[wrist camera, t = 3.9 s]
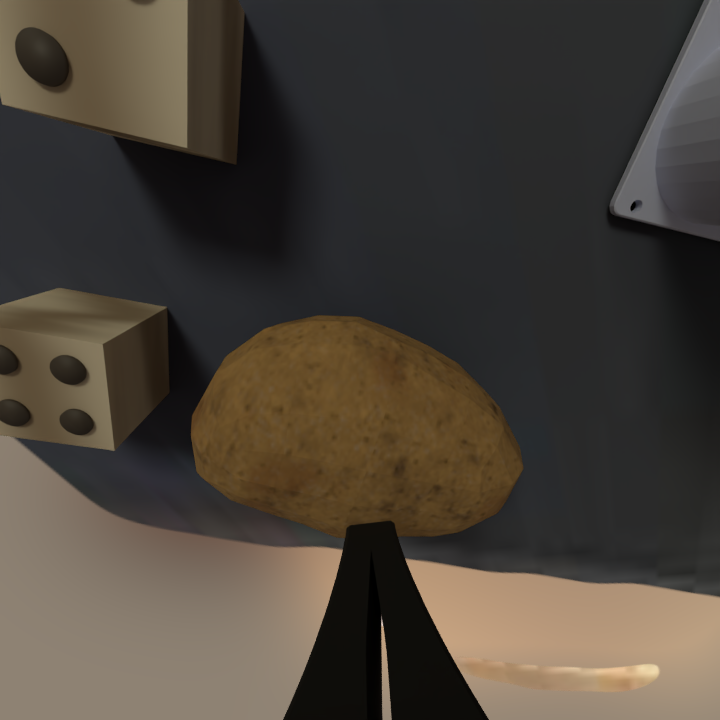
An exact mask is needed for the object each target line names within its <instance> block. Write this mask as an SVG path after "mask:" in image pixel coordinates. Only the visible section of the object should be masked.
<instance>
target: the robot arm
mask: <svg viewBox="0 0 720 720" xmlns="http://www.w3.org/2000/svg"><path fill="white" fill-rule="evenodd" d="M634 201H635V203H636V206H635V208H634V210H633V211H631V210H630V207H631V204H632V203H633V202H634ZM609 208H610V212H611V213H612V214H613V215H615V216H619V217H623V218H627V219H631V220H635V221H639V222H643V223H647V224H651V225H655V226H659V227H663V228H667V229H671V230H675V231H679V232H683V233H687V234H691V235H695V236H699V237H704V238H708V239H712V240H716V241H720V0H704V2H703V4H702V6H701V8H700V10H699V12H698V15H697V17H696V19H695V21H694V23H693V25H692V28H691V30H690V32H689V34H688V36H687V38H686V40H685V43H684V45H683V47H682V49H681V51H680V53H679V56H678V58H677V60H676V62H675V64H674V66H673V68H672V71H671V73H670V75H669V77H668V79H667V81H666V84H665V86H664V88H663V90H662V92H661V94H660V96H659V99H658V101H657V103H656V105H655V107H654V109H653V111H652V114H651V116H650V118H649V120H648V122H647V124H646V127H645V129H644V131H643V133H642V135H641V137H640V139H639V142H638V144H637V146H636V148H635V150H634V152H633V155H632V157H631V159H630V161H629V163H628V165H627V167H626V170H625V172H624V174H623V176H622V178H621V180H620V183H619V185H618V187H617V189H616V191H615V193H614V195H613V198H612V200H611V202H610V206H609ZM381 614H382V620H383V626H384V633H385V642H386V649H387V661H388V674H389V688H390V701H391V715H392V720H489V719H488V718H487V716H486V714H485V713H484V711H483V710H482V708H481V706H480V705H479V703H478V701H477V699H476V698H475V696H474V695H473V693H472V691H471V689H470V688H469V686H468V684H467V683H466V681H465V679H464V677H463V676H462V674H461V672H460V670H459V669H458V667H457V665H456V663H455V662H454V660H453V658H452V656H451V655H450V653H449V651H448V649H447V647H446V645H445V644H444V642H443V640H442V638H441V636H440V634H439V632H438V630H437V628H436V626H435V624H434V622H433V620H432V618H431V616H430V614H429V612H428V610H427V608H426V606H425V604H424V602H423V600H422V597H421V595H420V593H419V591H418V589H417V586H416V584H415V582H414V580H413V578H412V575H411V573H410V570H409V568H408V565H407V563H406V560H405V557H404V555H403V552H402V549H401V546H400V543H399V540H398V536H397V532H396V528H395V523H394V522H392V521H382V522H373V523H365V524H356V525H349V526H348V527H347V528H346V536H345V542H344V547H343V552H342V556H341V561H340V565H339V569H338V572H337V577H336V580H335V583H334V586H333V590H332V593H331V596H330V600H329V603H328V606H327V609H326V613H325V616H324V618H323V621H322V624H321V627H320V630H319V632H318V636H317V638H316V641H315V644H314V647H313V649H312V652H311V655H310V657H309V660H308V662H307V665H306V667H305V670H304V672H303V675H302V677H301V680H300V682H299V685H298V687H297V689H296V692H295V694H294V697H293V699H292V701H291V704H290V706H289V708H288V710H287V712H286V714H285V717H284V719H283V720H382V663H381V662H382V661H381V660H382V657H381Z"/></svg>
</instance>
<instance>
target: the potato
mask: <svg viewBox="0 0 720 720" xmlns="http://www.w3.org/2000/svg"><path fill="white" fill-rule="evenodd" d="M191 440H192V446H193V452H194V458H195V464H196V470H197V473H198V474H199V475H200V476H201V477H202V478H203V479H204V480H205V481H207V482H208V483H209V484H211V485H212V486H213V487H215V488H216V489H217V490H218V491H220V492H221V493H222V494H224V495H225V496H226V497H228V498H229V499H230V500H232V501H235V502H238V503H241V504H244V505H247V506H249V507H252V508H255V509H258V510H261V511H264V512H267V513H270V514H273V515H276V516H279V517H282V518H286V519H289V520H292V521H295V522H298V523H301V524H304V525H307V526H309V527H312V528H314V529H317V530H319V531H322V532H324V533H327V534H329V535H332V536H334V537H337V538H345V536H346V528H347V527H348V526H349V525H356V524H365V523H373V522H382V521H392V522H394V523H395V528H396V532H397V536H398V537H399V536H439V535H445V534H451V533H457V532H460V531H463V530H465V529H467V528H469V527H471V526H473V525H475V524H477V523H479V522H481V521H483V520H485V519H487V518H489V517H491V516H493V515H495V514H497V513H498V512H499V511H500V509H501V508H502V506H503V505H504V503H505V502H506V500H507V498H508V497H509V495H510V493H511V491H512V489H513V487H514V485H515V484H516V482H517V480H518V478H519V476H520V474H521V472H522V471H523V463H522V458H521V452H520V447H519V445H518V443H517V441H516V439H515V437H514V435H513V433H512V431H511V429H510V427H509V425H508V423H507V421H506V419H505V417H504V415H503V413H502V411H501V409H500V407H499V406H498V405H497V404H496V403H495V402H494V400H493V399H492V398H491V397H490V396H489V395H488V394H487V392H486V391H485V390H484V389H483V388H482V387H481V386H480V385H479V384H478V383H477V382H476V381H475V380H474V379H473V378H472V377H471V376H470V375H469V374H468V373H467V372H466V371H465V370H464V369H463V368H462V367H461V366H460V365H459V364H458V363H456V362H455V361H453V360H451V359H450V358H448V357H446V356H445V355H443V354H441V353H439V352H438V351H436V350H434V349H433V348H431V347H429V346H428V345H425V344H423V343H421V342H419V341H417V340H415V339H413V338H410V337H408V336H406V335H404V334H402V333H400V332H397V331H395V330H393V329H390V328H387V327H385V326H382V325H379V324H377V323H374V322H371V321H369V320H366V319H363V318H361V317H349V316H322V315H318V316H314V317H309V318H304V319H300V320H295V321H290V322H286V323H281V324H278V325H275V326H272V327H269V328H266V329H263V330H262V331H261V332H259V333H258V334H256V335H255V336H254V337H252V338H251V339H249V340H248V341H247V342H245V343H244V344H242V345H241V346H240V347H238V348H237V349H235V350H234V351H233V352H231V353H230V354H228V355H227V356H226V357H225V359H224V360H223V362H222V364H221V365H220V367H219V368H218V370H217V372H216V373H215V375H214V377H213V379H212V380H211V382H210V384H209V386H208V388H207V389H206V391H205V393H204V395H203V397H202V399H201V400H200V402H199V404H198V406H197V408H196V409H195V411H194V413H193V415H192V424H191Z"/></svg>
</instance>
